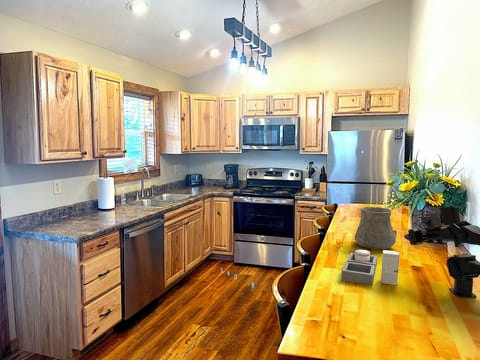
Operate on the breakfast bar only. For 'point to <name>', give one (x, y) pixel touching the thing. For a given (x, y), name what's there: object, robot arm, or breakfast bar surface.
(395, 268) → the skincare box
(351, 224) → the breakfast bar surface
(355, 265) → the bottle caddy
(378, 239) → the vessel
